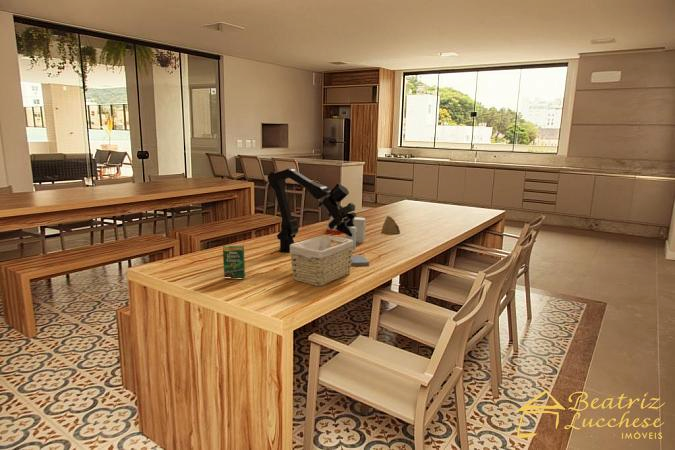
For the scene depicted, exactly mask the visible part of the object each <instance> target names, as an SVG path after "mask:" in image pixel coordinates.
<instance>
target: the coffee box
mask: <svg viewBox="0 0 675 450" xmlns="http://www.w3.org/2000/svg"><path fill="white" fill-rule="evenodd" d="M244 246H245V245H223V246H222V258H223V260H222V261H223V278H224V277H231V278H244V277H246V271H245V270H246V268H245V266H246V265H245V247H244ZM244 279H245V278H244Z"/></svg>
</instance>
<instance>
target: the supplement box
mask: <svg viewBox="0 0 675 450" xmlns="http://www.w3.org/2000/svg"><path fill="white" fill-rule="evenodd" d="M366 219H367V218H366V217H357V216H356V217H355V218H354V221H353V223H354V226H355V227H357V231H356V232H357V234H356V243H360V244H363V243H364V241H365V238H366V236H365V235H366Z"/></svg>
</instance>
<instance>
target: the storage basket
mask: <svg viewBox="0 0 675 450" xmlns="http://www.w3.org/2000/svg"><path fill="white" fill-rule="evenodd" d="M331 243H332V244H334V243H335V244H337V245H335V246H332V245H331ZM353 251H354V250H353V240H352V239H346V238H344V237H339V236H334V235H327V234H322V235H319V236H314V237H312V238H308V239H305V240H302V241H298V242H294V244H291V245H290V252H289V254H290V261H291V270H292V278H293V280H294V281H298V282H301V283H305V284H308V285H313V286H316V287H317V286H318V287H323V286H325V285H327V284H329V283H331V282H333V281H336V280H337V279H341V278H342V277H344V276H346V275H348V274H350V273H351V272H352V271H351V267H352V266H351V260H352V255H353Z"/></svg>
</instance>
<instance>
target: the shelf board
mask: <svg viewBox="0 0 675 450" xmlns="http://www.w3.org/2000/svg"><path fill="white" fill-rule="evenodd" d="M356 266H357V267H358V266H361V267H363V266H370V262H369V260H368V259H367V258H366V256H364V255H363V254H352V260H351V267H356Z"/></svg>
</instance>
